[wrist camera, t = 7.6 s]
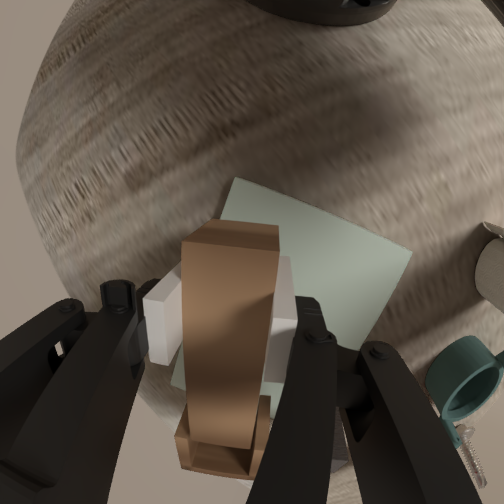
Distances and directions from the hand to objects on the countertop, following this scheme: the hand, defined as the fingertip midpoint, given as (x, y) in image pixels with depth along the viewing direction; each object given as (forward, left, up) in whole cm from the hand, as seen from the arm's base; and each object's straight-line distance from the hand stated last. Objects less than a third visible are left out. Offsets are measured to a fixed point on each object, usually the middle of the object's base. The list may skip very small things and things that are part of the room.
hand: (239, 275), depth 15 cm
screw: (+15, +40, -6) cm, 43 cm away
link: (+5, +1, 0) cm, 6 cm away
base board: (+5, +4, -6) cm, 9 cm away
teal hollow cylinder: (+4, +26, -6) cm, 27 cm away
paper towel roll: (-8, +22, -6) cm, 24 cm away
